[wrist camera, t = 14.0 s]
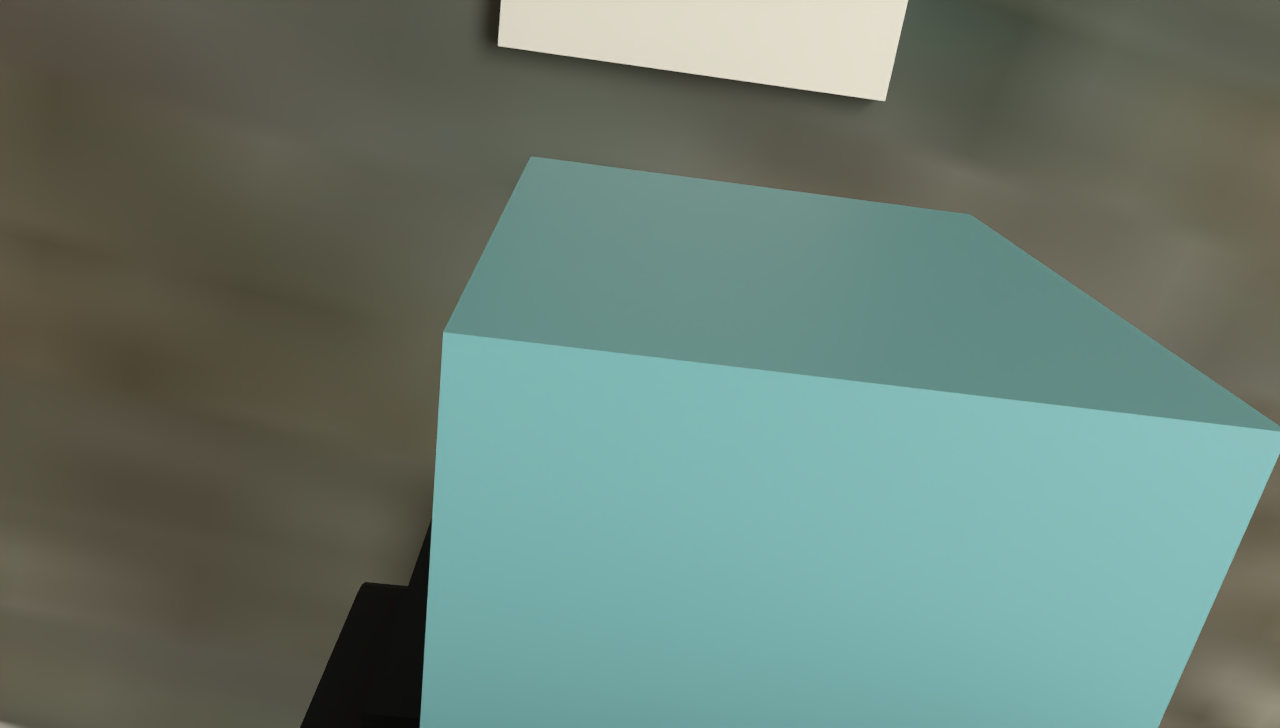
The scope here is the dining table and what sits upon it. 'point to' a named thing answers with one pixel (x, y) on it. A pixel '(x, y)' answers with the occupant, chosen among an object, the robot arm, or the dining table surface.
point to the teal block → (811, 473)
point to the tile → (723, 38)
